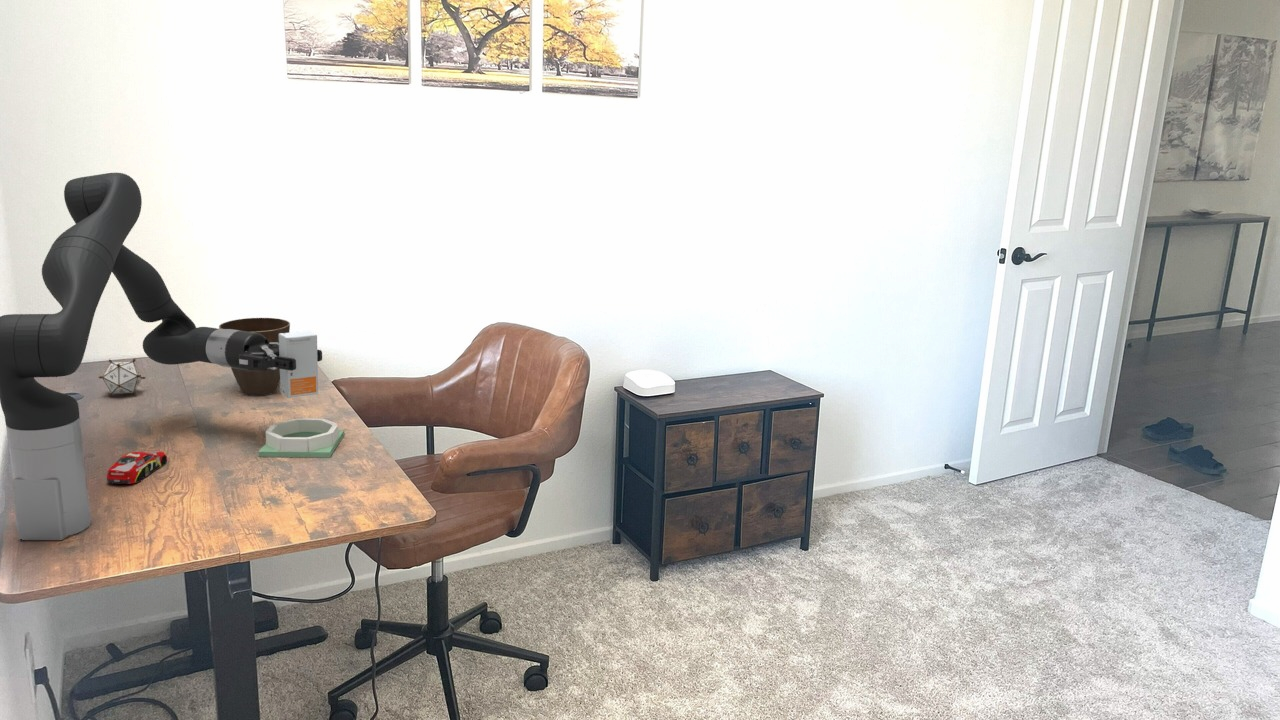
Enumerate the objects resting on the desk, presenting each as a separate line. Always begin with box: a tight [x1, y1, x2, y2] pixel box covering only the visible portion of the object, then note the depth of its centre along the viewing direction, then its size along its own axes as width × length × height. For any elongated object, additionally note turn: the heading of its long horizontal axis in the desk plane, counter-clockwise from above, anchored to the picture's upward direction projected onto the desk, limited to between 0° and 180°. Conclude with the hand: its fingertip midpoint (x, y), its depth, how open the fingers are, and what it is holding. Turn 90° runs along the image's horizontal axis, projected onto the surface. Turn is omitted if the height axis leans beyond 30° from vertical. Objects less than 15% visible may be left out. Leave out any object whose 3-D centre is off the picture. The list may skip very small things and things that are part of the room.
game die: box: [98, 358, 146, 398], centre depth 204 cm, size 9×8×10 cm
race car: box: [106, 449, 168, 485], centre depth 161 cm, size 13×5×4 cm, turn 179°
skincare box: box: [279, 330, 319, 399], centre depth 175 cm, size 6×4×12 cm
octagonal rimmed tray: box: [258, 417, 345, 458], centre depth 178 cm, size 13×13×4 cm
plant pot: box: [218, 317, 291, 396], centre depth 209 cm, size 15×15×16 cm
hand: (308, 360), depth 174 cm, fingers closed on skincare box, 7 cm apart
